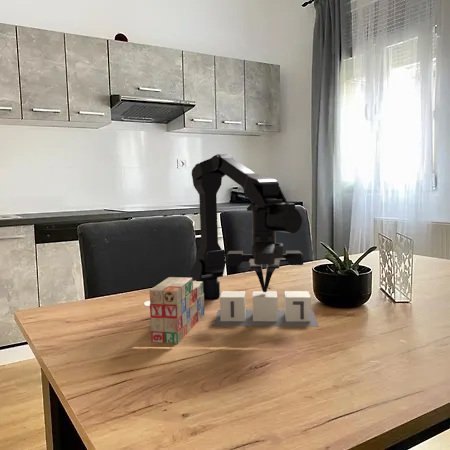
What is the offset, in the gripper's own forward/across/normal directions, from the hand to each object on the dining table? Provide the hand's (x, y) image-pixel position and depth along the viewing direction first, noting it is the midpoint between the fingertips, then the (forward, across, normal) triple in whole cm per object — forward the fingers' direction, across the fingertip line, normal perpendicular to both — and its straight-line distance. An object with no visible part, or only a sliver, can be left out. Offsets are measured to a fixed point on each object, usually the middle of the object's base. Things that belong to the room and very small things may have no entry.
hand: (264, 291), depth 112 cm
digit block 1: (+6, -8, 0) cm, 10 cm away
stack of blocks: (+7, -20, -8) cm, 23 cm away
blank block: (+6, 0, 0) cm, 7 cm away
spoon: (+8, -31, +20) cm, 38 cm away
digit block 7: (+6, +8, 0) cm, 10 cm away
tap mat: (+7, 0, 0) cm, 7 cm away
